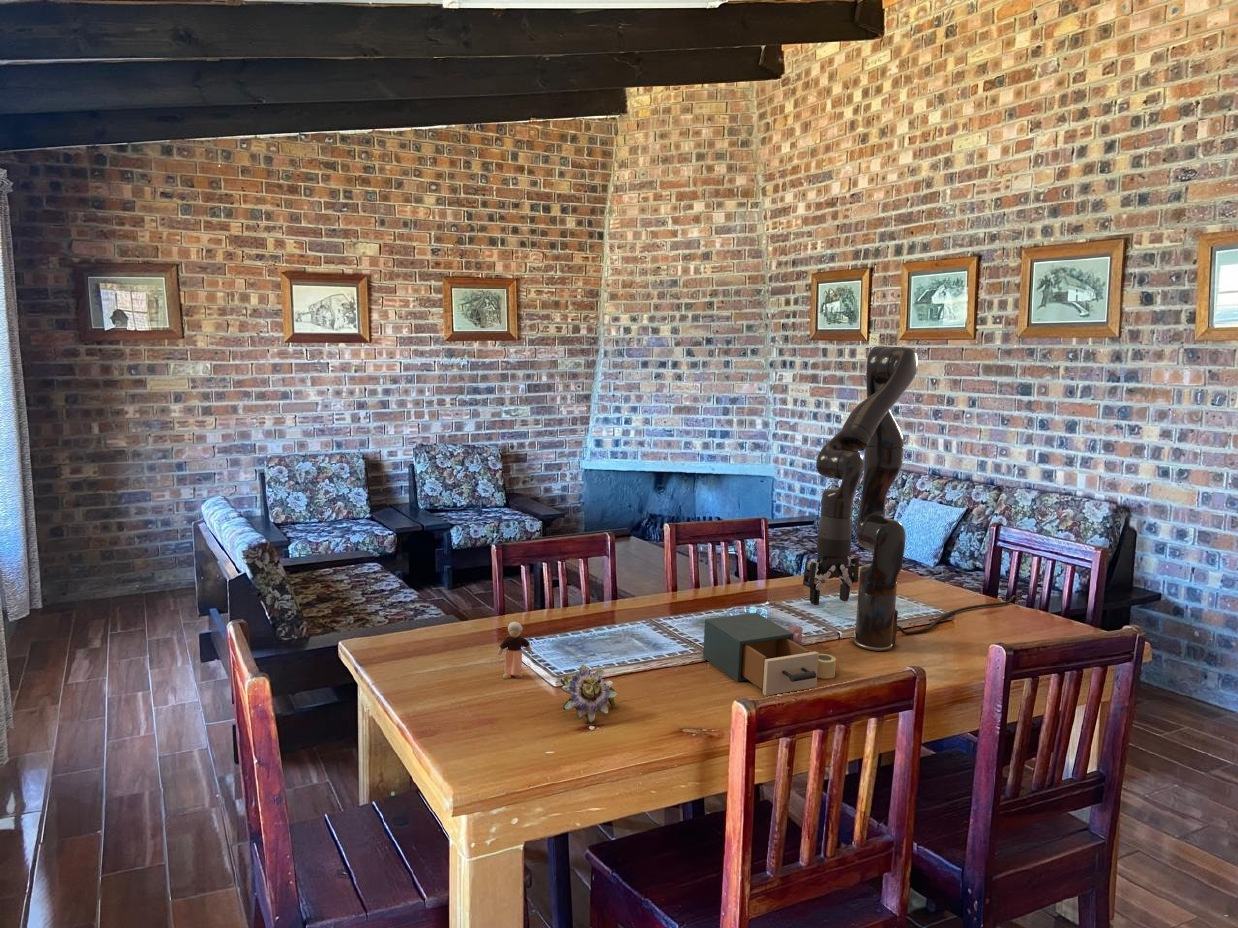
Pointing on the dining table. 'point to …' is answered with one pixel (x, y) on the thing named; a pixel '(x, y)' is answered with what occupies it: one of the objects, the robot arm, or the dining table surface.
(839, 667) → the dining table surface
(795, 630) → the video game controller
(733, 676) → the cabinet
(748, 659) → the drawer
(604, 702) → the passion flower
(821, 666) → the tape
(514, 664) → the grandmother figurine
